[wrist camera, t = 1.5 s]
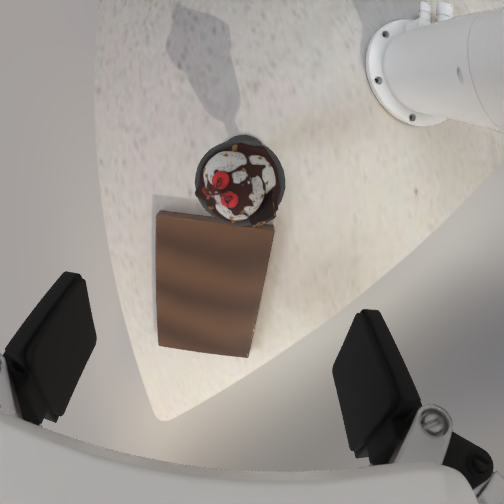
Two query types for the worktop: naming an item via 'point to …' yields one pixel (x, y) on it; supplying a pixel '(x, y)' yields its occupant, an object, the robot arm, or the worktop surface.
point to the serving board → (209, 282)
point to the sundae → (240, 182)
